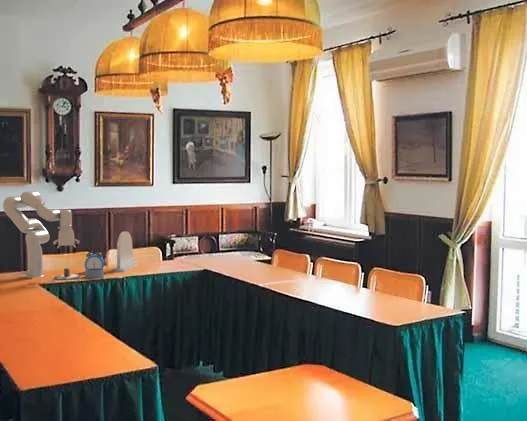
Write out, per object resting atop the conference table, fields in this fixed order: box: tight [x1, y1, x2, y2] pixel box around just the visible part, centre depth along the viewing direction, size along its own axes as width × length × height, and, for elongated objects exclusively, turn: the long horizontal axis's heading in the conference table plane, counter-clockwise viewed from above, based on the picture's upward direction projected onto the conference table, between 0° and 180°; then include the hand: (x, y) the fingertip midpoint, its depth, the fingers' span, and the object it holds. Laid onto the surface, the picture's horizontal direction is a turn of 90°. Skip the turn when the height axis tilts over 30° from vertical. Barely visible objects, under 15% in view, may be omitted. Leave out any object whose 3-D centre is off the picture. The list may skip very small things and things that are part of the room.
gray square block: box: [84, 268, 105, 280], centre depth 439 cm, size 12×12×6 cm
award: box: [112, 231, 139, 273], centre depth 478 cm, size 28×9×28 cm, turn 170°
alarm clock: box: [84, 251, 105, 270], centre depth 458 cm, size 13×6×15 cm, turn 99°
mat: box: [52, 274, 82, 281], centre depth 436 cm, size 17×17×1 cm
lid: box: [54, 268, 79, 281], centre depth 435 cm, size 15×15×6 cm
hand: (66, 253), depth 434 cm, fingers open, 9 cm apart
